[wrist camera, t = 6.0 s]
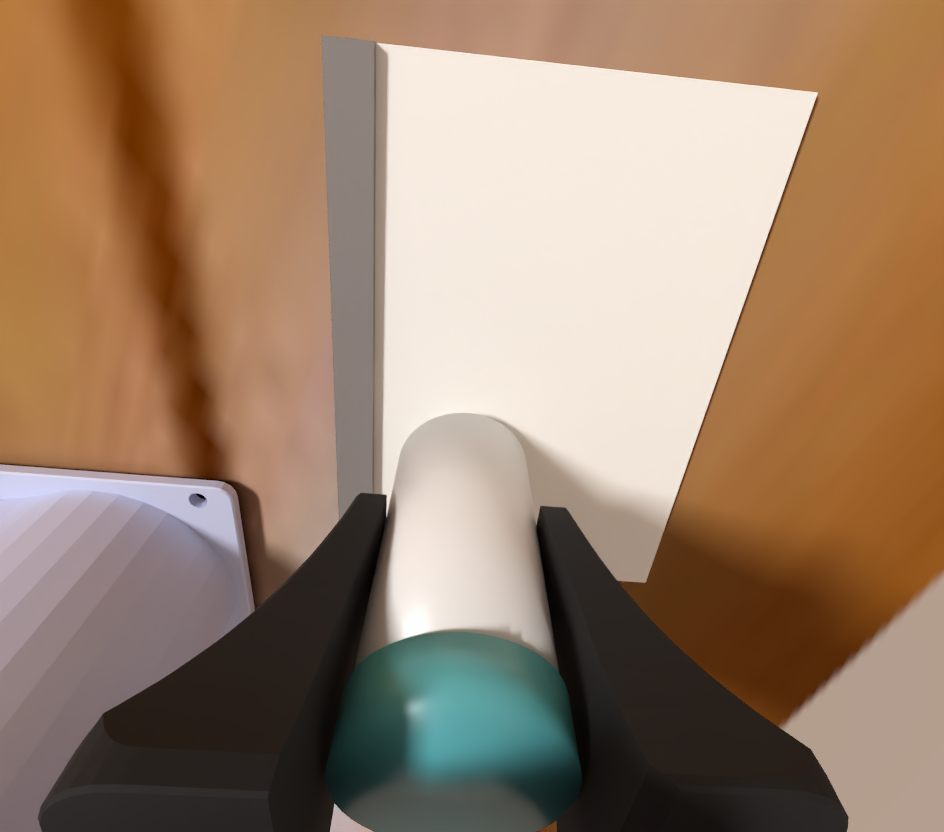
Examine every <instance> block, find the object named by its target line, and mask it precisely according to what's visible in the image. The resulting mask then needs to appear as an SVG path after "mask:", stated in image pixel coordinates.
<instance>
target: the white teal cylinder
mask: <svg viewBox="0 0 944 832" xmlns="http://www.w3.org/2000/svg"><path fill="white" fill-rule="evenodd" d="M325 782H326V788H327V790H328V793H329V795H330V797H331V798H332V800H333V801H334V803H335V804H336V805H337V806H338V807H339V809H340V810H341V811H342V812H343V813H345V814H346V815H347V816H348V817H350V818H351V819H352V820H354V821H355V822H357V823H359V824H360V825H362V826H364V827H366V828H368V829H370V830H372V831H374V832H536V831H539V830H541V829H543V828H544V827H546V826H548V825H550V824H552V823H553V822H554V821H556V820H557V819H559V818H560V817H561V816H562V815H564V814H565V813H566V812H567V811H568V810H569V809H570V807H571V806H572V805H573V804H574V802H575V801H576V799H577V797H578V795H579V793H580V789H581V786H582V772H581V766H580V760H579V754H578V748H577V742H576V736H575V730H574V724H573V718H572V712H571V706H570V700H569V695H568V690H567V687H566V685H565V682H564V680H563V679H562V677H561V676H560V674H559V669H558V662H557V656H556V650H555V643H554V637H553V630H552V624H551V617H550V611H549V605H548V598H547V592H546V585H545V579H544V572H543V566H542V559H541V553H540V547H539V540H538V534H537V527H536V521H535V514H534V508H533V502H532V495H531V489H530V482H529V476H528V469H527V463H526V457H525V453H524V450H523V448H522V446H521V444H520V442H519V440H518V439H517V438H516V436H515V435H514V434H513V433H512V432H511V431H510V430H509V429H508V428H506V427H505V426H504V425H502V424H501V423H499V422H497V421H495V420H493V419H491V418H488V417H486V416H482V415H479V414H472V413H451V414H446V415H442V416H439V417H435V418H433V419H431V420H429V421H427V422H425V423H424V424H422V425H420V426H419V427H418V428H417V429H415V430H414V431H413V432H412V433H411V435H410V436H409V437H408V438H407V440H406V441H405V443H404V445H403V447H402V449H401V453H400V456H399V461H398V465H397V470H396V475H395V479H394V484H393V489H392V494H391V498H390V503H389V508H388V512H387V517H386V522H385V526H384V531H383V536H382V540H381V545H380V550H379V554H378V559H377V564H376V568H375V573H374V578H373V582H372V587H371V592H370V597H369V601H368V606H367V611H366V615H365V620H364V625H363V629H362V634H361V639H360V643H359V648H358V653H357V657H356V662H355V667H354V670H353V671H352V672H351V674H350V676H349V677H348V679H347V681H346V683H345V686H344V690H343V693H342V698H341V702H340V707H339V711H338V716H337V720H336V725H335V729H334V733H333V738H332V742H331V747H330V751H329V756H328V760H327V765H326V770H325Z"/></svg>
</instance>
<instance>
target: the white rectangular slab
mask: <svg viewBox="0 0 944 832" xmlns="http://www.w3.org/2000/svg"><path fill="white" fill-rule="evenodd" d="M321 36H322V63H323V91H324V119H325V147H326V174H327V202H328V230H329V258H330V285H331V313H332V341H333V369H334V396H335V424H336V452H337V480H338V507H339V520H340V519H341V518H342V516H343V515H344V513H345V512H346V511H347V509H348V508H349V506H350V505H351V503H352V502H353V500H354V499H355V497H356V496H357V495H359V494H360V493H371V494H385V495H387V506H386V517H387V512H388V508H389V503H390V498H391V494H392V489H393V484H394V479H395V475H396V470H397V465H398V461H399V456H400V453H401V449H402V447H403V445H404V443H405V441H406V440H407V438H408V437H409V436H410V435H411V433H412V432H413V431H414V430H415V429H417V428H418V427H419V426H420V425H422V424H424V423H425V422H427V421H429V420H431V419H433V418H435V417H439V416H442V415H446V414H451V413H472V414H479V415H482V416H486V417H488V418H491V419H493V420H495V421H497V422H499V423H501V424H502V425H504V426H505V427H506V428H508V429H509V430H510V431H511V432H512V433H513V434H514V435H515V436H516V438H517V439H518V440H519V442H520V444H521V446H522V448H523V450H524V453H525V457H526V463H527V469H528V476H529V482H530V489H531V495H532V502H533V508H534V514H535V521H536V525H537V520H538V515H539V510H540V506H551V507H564V508H566V509H567V510H568V511H569V512H570V514H571V515H572V517H573V519H574V520H575V522H576V523H577V525H578V526H579V528H580V529H581V531H582V532H583V534H584V535H585V537H586V538H587V540H588V541H589V543H590V544H591V546H592V547H593V549H594V550H595V551H596V553H597V554H598V556H599V557H600V558H601V560H602V561H603V562H604V564H605V565H606V566H607V568H608V569H609V570H610V572H611V573H612V575H613V576H614V577H615V578H616V580H617V581H628V582H643V583H646V580H647V578H648V575H649V572H650V569H651V566H652V563H653V560H654V558H655V555H656V552H657V549H658V546H659V543H660V541H661V538H662V535H663V532H664V529H665V526H666V523H667V521H668V518H669V515H670V512H671V509H672V506H673V504H674V501H675V498H676V495H677V492H678V489H679V486H680V484H681V481H682V478H683V475H684V472H685V469H686V467H687V464H688V461H689V458H690V455H691V452H692V449H693V447H694V444H695V441H696V438H697V435H698V432H699V430H700V427H701V424H702V421H703V418H704V415H705V413H706V410H707V407H708V404H709V401H710V398H711V395H712V393H713V390H714V387H715V384H716V381H717V378H718V376H719V373H720V370H721V367H722V364H723V361H724V358H725V356H726V353H727V350H728V347H729V344H730V341H731V339H732V336H733V333H734V330H735V327H736V324H737V321H738V319H739V316H740V313H741V310H742V307H743V304H744V302H745V299H746V296H747V293H748V290H749V287H750V284H751V282H752V279H753V276H754V273H755V270H756V267H757V265H758V262H759V259H760V256H761V253H762V250H763V247H764V245H765V242H766V239H767V236H768V233H769V230H770V228H771V225H772V222H773V219H774V216H775V213H776V210H777V208H778V205H779V202H780V199H781V196H782V193H783V191H784V188H785V185H786V182H787V179H788V176H789V174H790V171H791V168H792V165H793V162H794V159H795V156H796V154H797V151H798V148H799V145H800V142H801V139H802V137H803V134H804V131H805V128H806V125H807V122H808V119H809V117H810V114H811V111H812V108H813V105H814V102H815V100H816V97H817V94H818V93H816V92H808V91H799V90H790V89H781V88H772V87H763V86H754V85H745V84H737V83H728V82H719V81H710V80H701V79H692V78H683V77H674V76H666V75H657V74H648V73H639V72H630V71H621V70H612V69H603V68H595V67H586V66H577V65H568V64H559V63H550V62H541V61H532V60H524V59H515V58H506V57H497V56H488V55H479V54H470V53H461V52H452V51H444V50H435V49H426V48H417V47H408V46H399V45H390V44H381V43H376V42H374V41H367V40H359V39H350V38H341V37H332V36H323V35H321Z"/></svg>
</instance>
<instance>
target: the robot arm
mask: <svg viewBox="0 0 944 832" xmlns="http://www.w3.org/2000/svg"><path fill="white" fill-rule="evenodd" d="M196 493H197V494H201V495H203V496H204V497H205V498H206V499H202V498H200V497H198V496H197V495H196ZM386 506H387V495H385V494H371V493H360V494H359V495H357V496H356V497H355V499H354V500H353V502H352V503H351V505H350V506H349V508H348V509H347V511H346V512H345V513H344V515H343V516H342V518H341V519H340V520H339V522H338V523H337V524H336V525H335V527H334V528H333V529H332V531H331V532H330V533H329V534H328V536H327V537H326V538H325V539H324V540H323V542H322V543H321V544H320V545H319V546H318V548H317V549H316V550H315V551H314V552H313V553H312V555H311V556H310V557H309V558H308V559H307V560H306V561H305V562H304V563H303V564H302V565H301V566H300V567H299V569H298V570H297V571H296V572H295V573H294V574H293V575H292V576H291V577H290V578H289V579H288V580H287V581H286V582H285V583H284V584H283V585H282V586H281V587H280V588H279V589H278V590H277V591H276V592H275V593H274V594H273V595H272V596H271V597H269V598H268V599H267V600H266V601H265V602H264V603H263V604H262V605H261V606H259V607H258V608H257V609H256V610H255V607H254V601H253V594H252V588H251V581H250V574H249V568H248V561H247V554H246V548H245V541H244V535H243V528H242V521H241V515H240V508H239V502H238V495H237V493H236V490H235V489H234V488H233V487H232V486H231V485H229V484H227V483H225V482H221V481H214V480H200V479H187V478H174V477H160V476H147V475H134V474H121V473H107V472H94V471H81V470H67V469H54V468H41V467H28V466H14V465H1V464H0V832H330V826H331V820H332V814H333V808H334V801H333V800H332V798H331V797H330V795H329V793H328V790H327V788H326V782H325V770H326V765H327V760H328V756H329V751H330V747H331V742H332V738H333V733H334V729H335V725H336V720H337V716H338V711H339V707H340V702H341V698H342V693H343V690H344V686H345V683H346V681H347V679H348V677H349V676H350V674H351V672H352V671H353V670H354V667H355V662H356V657H357V653H358V648H359V643H360V639H361V634H362V629H363V625H364V620H365V615H366V611H367V606H368V601H369V597H370V592H371V587H372V582H373V578H374V573H375V568H376V564H377V559H378V554H379V550H380V545H381V540H382V536H383V531H384V526H385V522H386ZM536 527H537V534H538V540H539V547H540V553H541V559H542V566H543V572H544V579H545V585H546V592H547V598H548V605H549V611H550V617H551V624H552V630H553V637H554V643H555V650H556V656H557V662H558V669H559V674H560V676H561V677H562V679H563V680H564V682H565V685H566V687H567V690H568V695H569V700H570V706H571V712H572V718H573V724H574V730H575V736H576V742H577V748H578V754H579V760H580V766H581V772H582V786H581V789H580V793H579V795H578V797H577V799H576V801H575V802H574V804H573V805H572V806H571V807H570V809H569V810H568V811H567V812H566V813H565V814H564V815H562V816H561V817H560V818H559V819H557V832H847V829H848V816H847V814H846V812H845V810H844V808H843V806H842V804H841V803H840V800H839V799H838V797H837V795H836V792H835V790H834V789H833V787H832V785H831V783H830V781H829V779H828V777H827V775H826V773H825V772H824V770H823V769H822V767H821V765H820V764H819V762H818V760H817V759H816V757H815V756H814V754H813V752H812V751H811V749H809V748H808V747H806V746H805V745H804V744H802V743H800V742H799V741H798V740H796V739H795V738H793V737H792V736H790V735H789V734H788V733H786V732H785V731H783V730H782V729H780V728H779V727H777V726H776V725H774V724H773V723H772V722H770V721H769V720H767V719H766V718H764V717H763V716H761V715H760V714H759V713H757V712H756V711H754V710H753V709H752V708H750V707H749V706H748V705H747V704H745V703H744V702H743V701H741V700H740V699H739V698H737V697H736V696H735V695H734V694H732V693H731V692H730V691H728V690H727V689H726V688H725V687H723V686H722V685H721V684H720V683H718V682H717V681H716V680H715V679H714V678H712V677H711V676H710V675H709V674H708V673H706V672H705V671H704V670H703V669H702V668H701V667H700V666H698V665H697V664H696V663H695V662H694V661H693V660H692V659H691V658H689V657H688V656H687V655H686V654H685V653H684V652H683V651H682V650H681V649H679V648H678V647H677V646H676V645H675V644H674V643H673V642H672V641H671V640H670V639H669V638H668V637H667V636H666V635H665V634H664V633H663V632H662V631H661V630H660V629H659V628H658V627H657V626H656V625H655V624H654V623H653V622H652V621H651V620H650V619H649V618H648V616H647V615H646V614H645V613H644V612H643V611H642V610H641V609H640V608H639V606H638V605H637V604H636V603H635V602H634V601H633V599H632V598H631V597H630V596H629V595H628V593H627V592H626V591H625V590H624V589H623V587H622V586H621V585H620V584H619V582H618V581H617V580H616V578H615V577H614V576H613V575H612V573H611V572H610V570H609V569H608V568H607V566H606V565H605V564H604V562H603V561H602V560H601V558H600V557H599V556H598V554H597V553H596V551H595V550H594V549H593V547H592V546H591V544H590V543H589V541H588V540H587V538H586V537H585V535H584V534H583V532H582V531H581V529H580V528H579V526H578V525H577V523H576V522H575V520H574V519H573V517H572V515H571V514H570V512H569V511H568V510H567V509H566V508H564V507H551V506H540V510H539V515H538V520H537V525H536Z"/></svg>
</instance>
